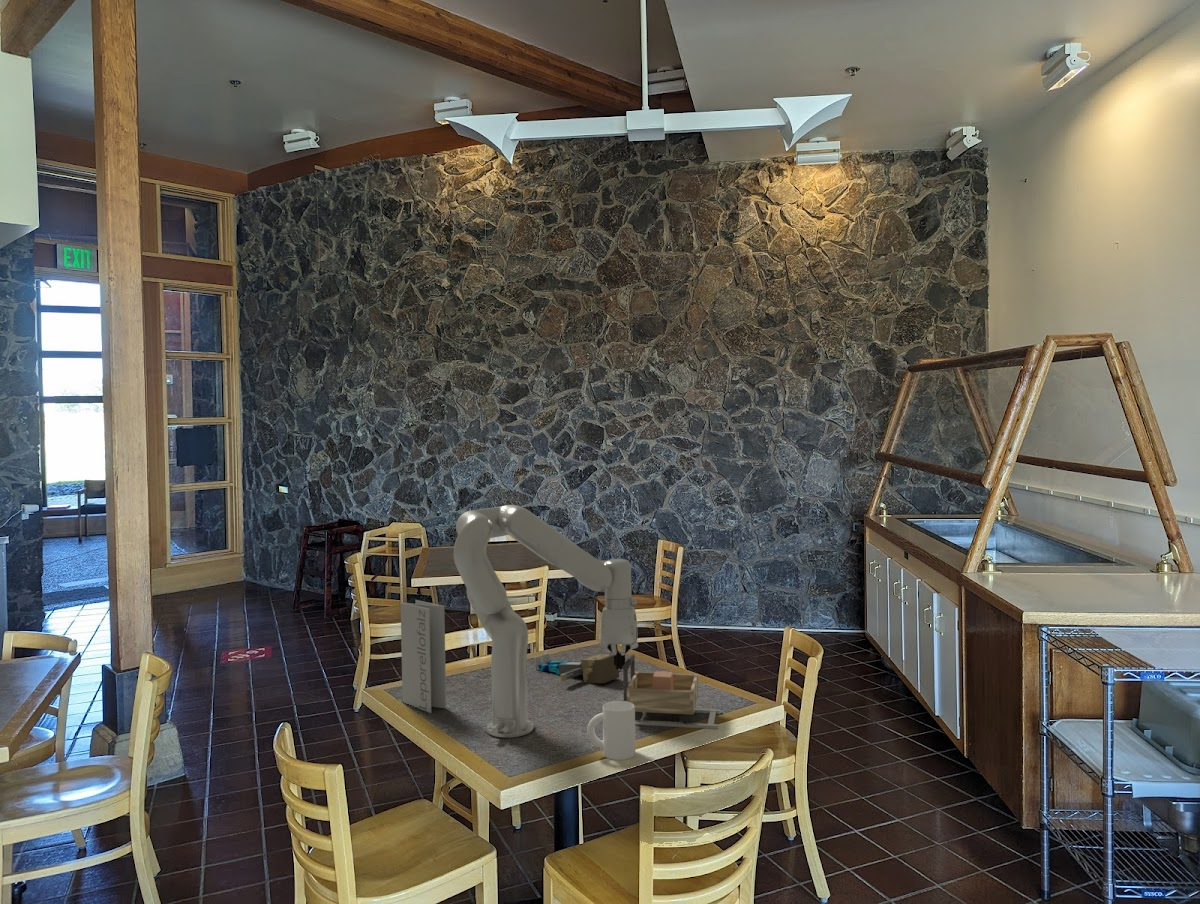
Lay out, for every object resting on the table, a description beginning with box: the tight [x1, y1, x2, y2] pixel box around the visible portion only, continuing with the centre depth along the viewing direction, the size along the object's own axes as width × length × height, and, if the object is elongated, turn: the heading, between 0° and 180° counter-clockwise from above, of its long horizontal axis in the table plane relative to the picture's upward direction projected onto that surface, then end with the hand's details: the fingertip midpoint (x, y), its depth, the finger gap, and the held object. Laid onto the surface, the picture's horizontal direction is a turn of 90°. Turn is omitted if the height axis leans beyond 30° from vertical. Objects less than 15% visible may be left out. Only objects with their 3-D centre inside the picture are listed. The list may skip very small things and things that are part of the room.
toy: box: [533, 652, 620, 684], centre depth 270 cm, size 26×8×30 cm
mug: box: [586, 700, 636, 761], centre depth 202 cm, size 8×12×12 cm
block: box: [653, 670, 674, 690], centre depth 228 cm, size 5×5×7 cm
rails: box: [635, 707, 721, 730], centre depth 227 cm, size 13×26×1 cm, turn 79°
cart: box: [622, 653, 699, 723], centre depth 228 cm, size 16×19×15 cm
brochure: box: [400, 599, 447, 714], centre depth 241 cm, size 14×6×30 cm, turn 47°
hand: (619, 668), depth 230 cm, fingers closed
